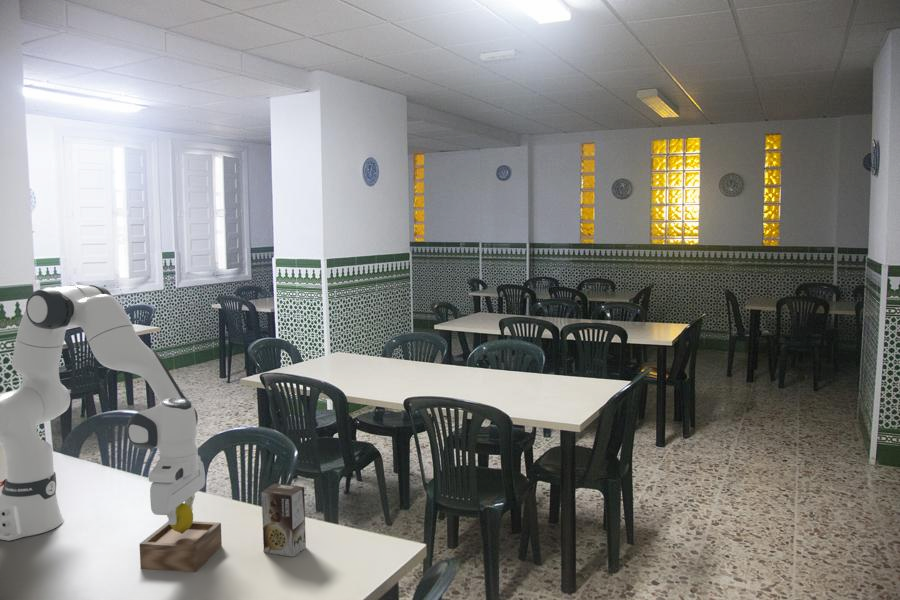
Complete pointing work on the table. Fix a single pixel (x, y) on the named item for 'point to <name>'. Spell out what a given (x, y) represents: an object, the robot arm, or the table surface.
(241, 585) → the table surface
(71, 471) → the table surface
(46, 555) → the table surface
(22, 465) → the robot arm
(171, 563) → the walnut base
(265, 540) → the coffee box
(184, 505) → the lemon
